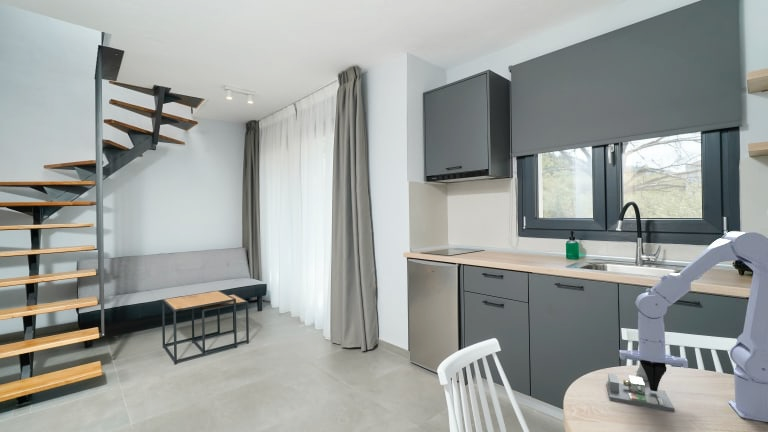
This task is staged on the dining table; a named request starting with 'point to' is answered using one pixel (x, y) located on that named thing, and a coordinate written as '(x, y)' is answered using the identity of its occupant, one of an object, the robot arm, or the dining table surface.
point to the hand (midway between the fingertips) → (653, 389)
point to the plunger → (635, 384)
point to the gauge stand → (637, 395)
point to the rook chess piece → (641, 373)
